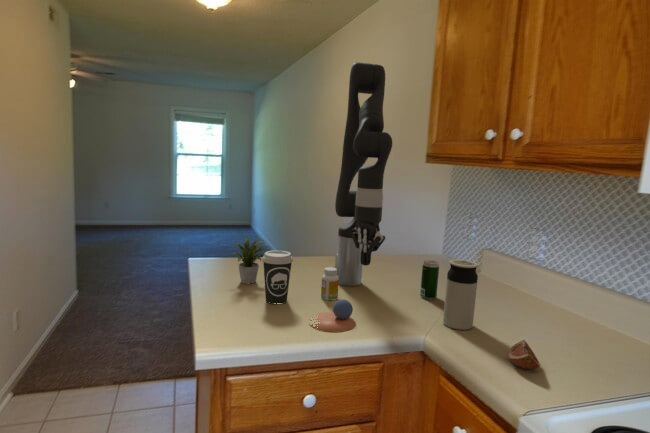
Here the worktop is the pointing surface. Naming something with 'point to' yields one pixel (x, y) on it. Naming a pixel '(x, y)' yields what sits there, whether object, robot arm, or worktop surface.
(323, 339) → the worktop surface
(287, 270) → the coffee cup
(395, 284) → the worktop surface
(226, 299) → the worktop surface
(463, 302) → the travel mug
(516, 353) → the fruit slice
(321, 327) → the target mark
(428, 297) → the beer can
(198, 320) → the worktop surface
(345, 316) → the ball
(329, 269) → the supplement bottle
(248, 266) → the house plant
